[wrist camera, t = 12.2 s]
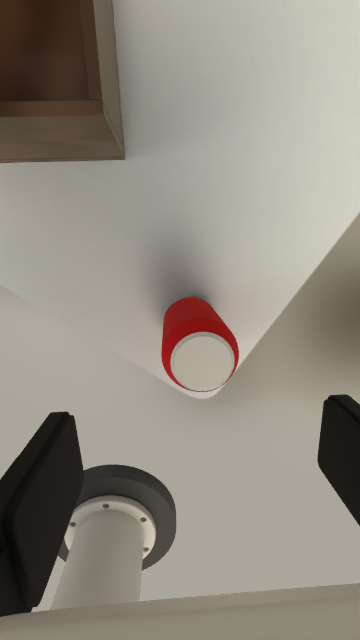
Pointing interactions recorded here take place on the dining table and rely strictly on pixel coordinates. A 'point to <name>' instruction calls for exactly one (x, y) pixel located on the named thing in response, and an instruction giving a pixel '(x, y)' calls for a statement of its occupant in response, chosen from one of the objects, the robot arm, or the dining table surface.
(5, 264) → the dining table surface
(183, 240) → the dining table surface
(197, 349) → the beverage can
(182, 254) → the dining table surface
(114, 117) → the chest
